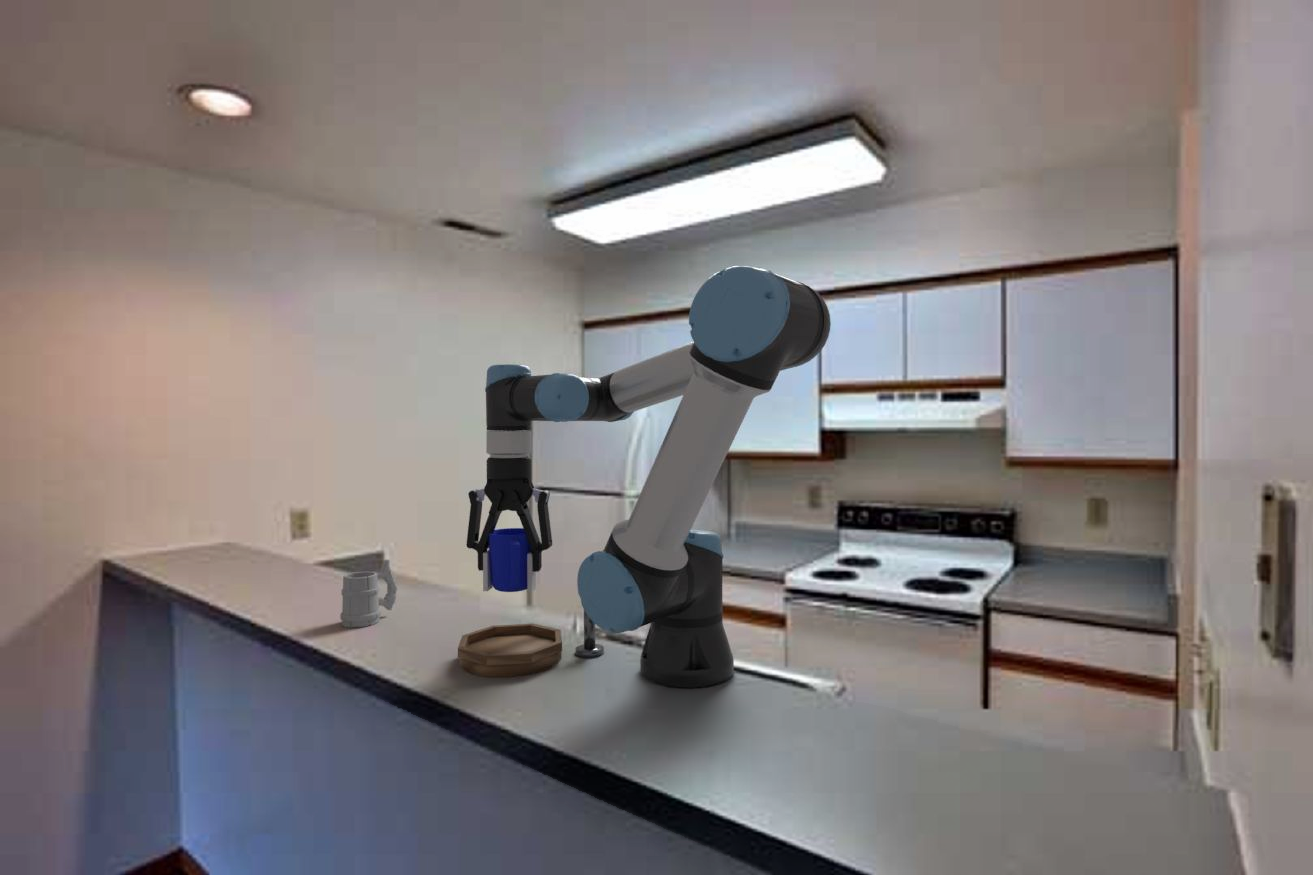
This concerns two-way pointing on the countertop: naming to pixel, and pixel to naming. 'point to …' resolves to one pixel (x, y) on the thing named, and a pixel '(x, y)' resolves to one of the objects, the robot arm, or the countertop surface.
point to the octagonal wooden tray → (510, 650)
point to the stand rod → (589, 641)
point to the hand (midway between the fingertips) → (509, 589)
